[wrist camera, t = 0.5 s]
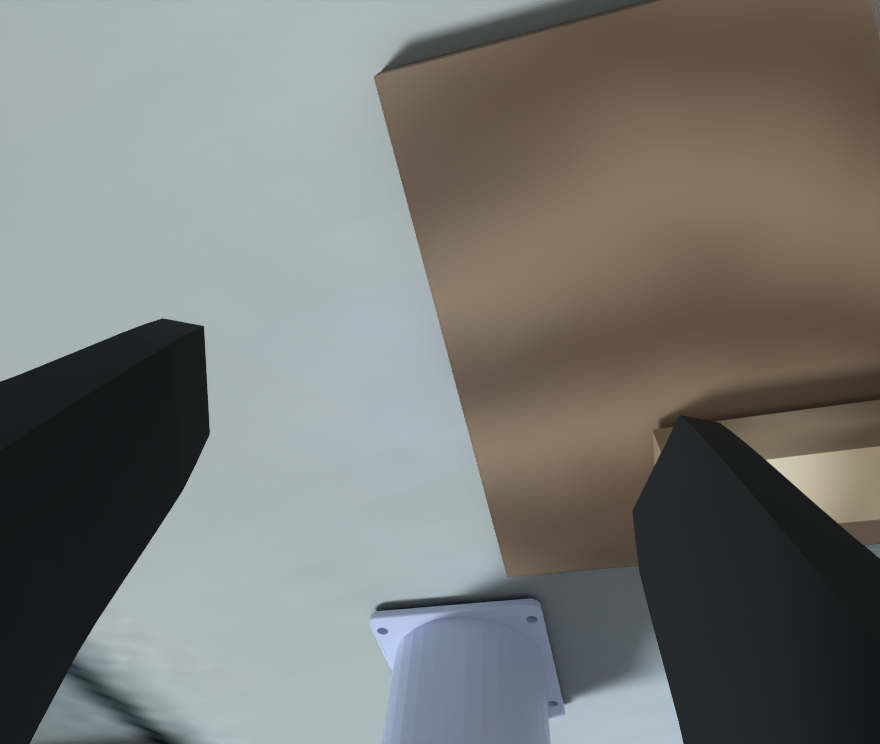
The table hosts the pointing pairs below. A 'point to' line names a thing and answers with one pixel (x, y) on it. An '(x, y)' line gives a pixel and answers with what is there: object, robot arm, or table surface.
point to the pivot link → (818, 454)
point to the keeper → (876, 13)
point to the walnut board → (643, 243)
